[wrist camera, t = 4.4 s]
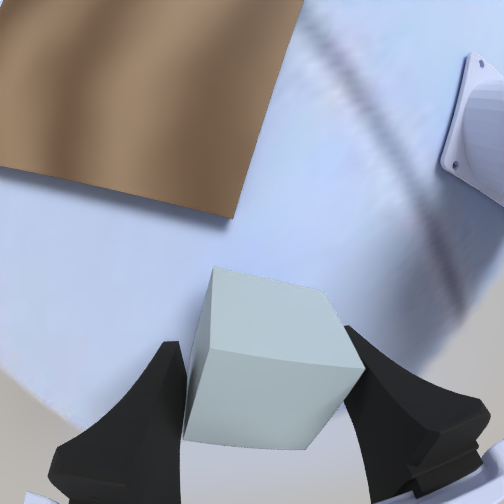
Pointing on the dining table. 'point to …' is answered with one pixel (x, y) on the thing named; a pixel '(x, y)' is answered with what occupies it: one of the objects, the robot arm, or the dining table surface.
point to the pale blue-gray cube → (266, 364)
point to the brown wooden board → (141, 92)
